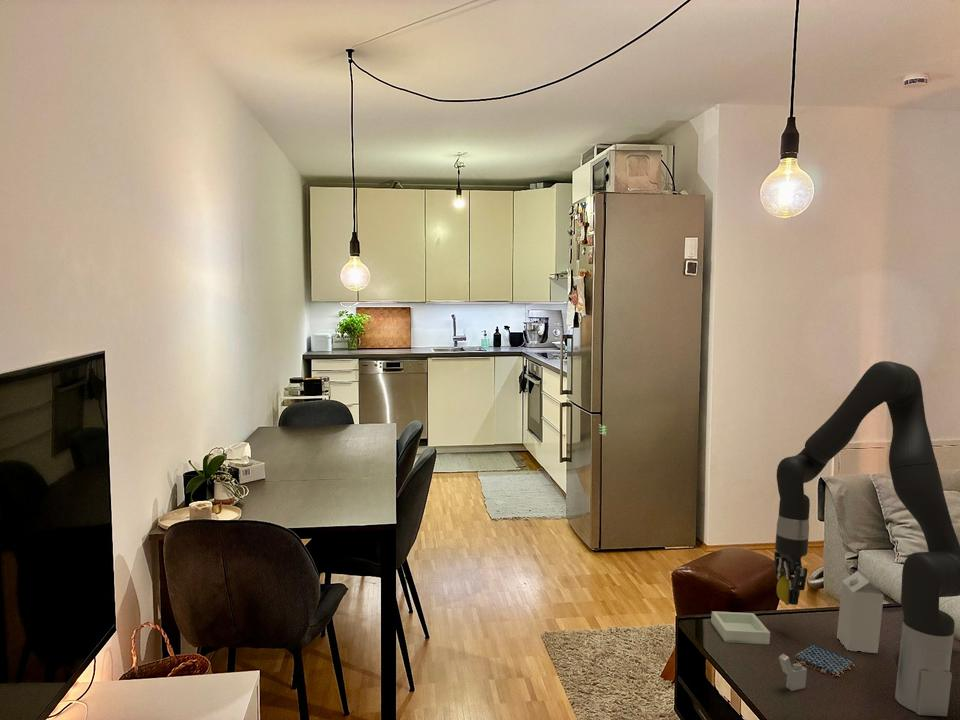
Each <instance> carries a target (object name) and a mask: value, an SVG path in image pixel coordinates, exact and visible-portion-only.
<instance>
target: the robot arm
mask: <svg viewBox="0 0 960 720" xmlns="http://www.w3.org/2000/svg"><path fill="white" fill-rule="evenodd" d="M883 403H886V405H887V409H888V413H889V417H890V420H891V425H892V435H891V440H890V446H889V450H888V451H889V453H888V467H889V473H890V477H891V481H892V486H893V489H894V492H895V494H896V496H897V497H898V499H899V501H900V502H901V503H902V504H903V506H904V507H905V508H906V510H907V511H908V512H909V513H910V514H911V516H912V517H913V518H914V519H915V521H916V522H917V524H918V525H919V527H920V529H921V531H922V533H923V535H924V540H925V542H926V547H927V551H918V552H913V553H911V554H909V555H908V556H907V557H906V559H905V560H904V563H903V566H902V571H901V590H900V591H901V593H900V604H901V610H902V613H903V614H902V616H903V617H902V618H903V619H902V628H901V637H900V645H899V654H898V655H899V656H898V666H897V673H896V682H895V683H896V684H895V693H894V698H895V700H896V702H898V703H899V704H900V706H901V705H902V707H904V708H905V709H907V710H909V711H912V712H914V713H915V714H917V715H918V716H931V717H933V716H934V717H935V716H936V717H948V714H949V713H948V712H949V704H950V695H951V694H950V693H951V685H952V676H953V673H952V672H951V671H950V669H951V660H952V652H953V651H952V650H953V645H954V644H953V643H954V635H955V625H956V624H955V620H954V618H953V616H951V615H950V614H948V613H947V612H945V611H943V610H941V609H940V598H950V597H959V596H960V542H959V540H958V536H957V534H956V532H955V528H954V525H953V522H952V518H951V515H950V512H949V511H950V510H949V507H948V504H947V501H946V496H945V492H944V487H943V481H942V479H941V478H942V477H941V474H940V471H939V466H938V462H937V458H936V455H935V452H934V448H933V443H932V438H931V435H930V431H929V428H928V427H929V426H928V424H927V420H926V419H927V418H926V412H925V404H924V403H925V402H924V396H923V388H922V382H921V379H920V377H919V374H918V373H917V371H915V369H913V368H912V367H910V366H908V365H906V364H902V363H898V362H893V361H885V360H884V361H883V360H881V361H878V362H875V363H874V364H872V365H871V366H869V368H868V369H867V370H866V371H865V373H863V375H862V377H860V379H859V380H858V381H857V383H856V384H855V386H854V387H853V389H852V390H851V391H850V393H848V395H847V396H846V397H845V399H844V400H843V401H842V403H841V404H840V405H839V406H838V408H837V409H836V410H835V411H834V412H833V414H832V415H831V416H830V417H829V418H828V419H827V420H826V421H825V422H824V423H823V424H822V425H820V426H819V428H818V429H817V430H815V431H814V432H813V433H812V434H811V435H810V436H809V437H808V438H807V440H806V441H805V443H804V448H803V449H802V450H801V451H800V452H799V453H797V454H796V455H792V456H787V457H784V458H783V459H781V460H780V461H779V463H778V465H777V467H776V468H777V469H776V483H777V484H776V485H777V490H778V494H779V504H778V505H779V506H778V507H779V508H778V518H777V523H776V534H775V546H774V548H775V550H776V551H774V554H773V555H774V560H773V561H774V567H773V568H774V575H775V576H776V579H777V580H778V581H779V579H780V578H781V577H782V576H785V575H786V579H787V580H788V581H789V597H788V603H789V605H791V606H793V605H794V606H797V605H798V604H799V598H800V596H799V590H800V591H805V588H806V583H807V577H808V568H807V567H802V566H803V565H802V558H803V557H805V556H807V554H808V549H809V548H808V547H809V534H810V509H811V508H810V507H811V502H810V498H809V496H808V495H806V493H805V488H804V486H805V485H804V484H807V483H808V482H811V481H812V480H814V479H815V478H816V477H818V476H819V474H820V473H821V472H822V471H823V469H825V467H826V466H827V464H828V463H829V462H830V460H832V459H833V458H834V457H835V456H837V455H838V453H840V452H841V451H842V450H843V449H844V448H845V447H846V446H848V444H849V443H850V442H851V440H852V439H853V437H854V436H855V434H856V432H857V430H858V429H859V427H860V424H861V423H862V421H864V419H865V418H866V416H867V415H868V414H870V413H871V412H872V411H873V410H874V409H876V408H877V407H879V406H880V405H882V404H883ZM790 575H791V576H793V577H791V576H790ZM793 580H794V581H793Z"/></svg>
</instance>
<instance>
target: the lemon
mask: <svg viewBox="0 0 960 720" xmlns="http://www.w3.org/2000/svg"><path fill="white" fill-rule="evenodd" d="M790 576H791V577H794V575H790ZM793 581H794V580H793ZM776 595H777V597H778V599H779V600H780V601H781V602H783V603H784V604H785V605H786V606H789V605H790V604H789V603H788V597H789V581H788V580H787V579H786V575H785V576H782V577H781V578H780V579H779V580H778V581H777V584H776ZM800 595H801V590H799V597H800Z"/></svg>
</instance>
